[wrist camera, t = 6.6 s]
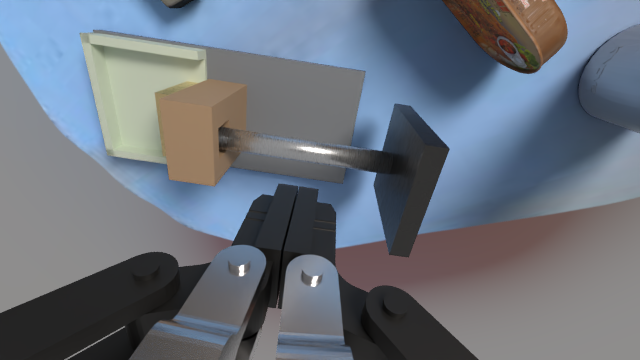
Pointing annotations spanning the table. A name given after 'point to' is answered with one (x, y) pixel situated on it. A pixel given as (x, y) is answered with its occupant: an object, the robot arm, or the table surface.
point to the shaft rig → (215, 104)
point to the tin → (514, 29)
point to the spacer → (157, 96)
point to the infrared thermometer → (176, 3)
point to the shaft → (370, 167)
